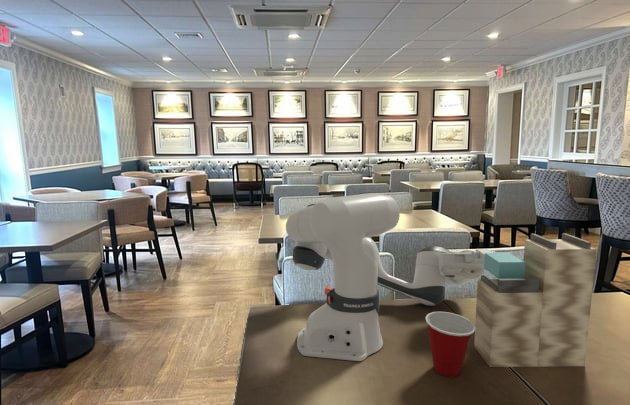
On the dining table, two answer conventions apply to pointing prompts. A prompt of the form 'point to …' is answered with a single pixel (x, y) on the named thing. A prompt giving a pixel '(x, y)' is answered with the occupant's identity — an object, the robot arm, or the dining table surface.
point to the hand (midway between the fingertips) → (485, 254)
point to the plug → (502, 264)
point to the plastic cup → (448, 341)
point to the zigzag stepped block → (538, 307)
